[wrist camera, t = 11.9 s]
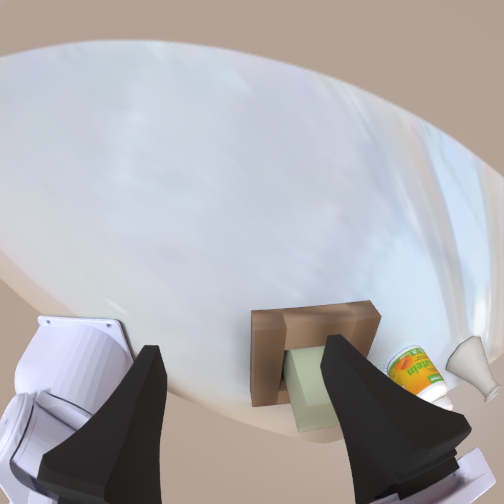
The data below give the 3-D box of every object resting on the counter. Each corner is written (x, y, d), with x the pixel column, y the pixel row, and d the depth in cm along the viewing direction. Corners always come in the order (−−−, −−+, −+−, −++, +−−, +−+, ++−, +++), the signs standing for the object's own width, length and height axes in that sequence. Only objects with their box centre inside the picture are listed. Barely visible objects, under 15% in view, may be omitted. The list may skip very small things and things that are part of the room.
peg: (281, 366, 27) (298, 432, 20) (285, 334, 25) (307, 406, 18) (323, 361, 28) (347, 422, 20) (331, 330, 26) (362, 394, 18)
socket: (249, 388, 28) (252, 407, 26) (251, 310, 23) (255, 330, 21) (344, 376, 29) (351, 392, 27) (369, 300, 24) (381, 316, 22)
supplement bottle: (424, 338, 29) (464, 393, 20) (417, 364, 31) (450, 416, 23) (388, 354, 29) (425, 416, 20) (384, 379, 31) (413, 436, 23)
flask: (484, 330, 32) (518, 369, 23) (466, 362, 35) (494, 401, 26) (457, 340, 31) (493, 387, 22) (438, 373, 34) (467, 418, 25)
